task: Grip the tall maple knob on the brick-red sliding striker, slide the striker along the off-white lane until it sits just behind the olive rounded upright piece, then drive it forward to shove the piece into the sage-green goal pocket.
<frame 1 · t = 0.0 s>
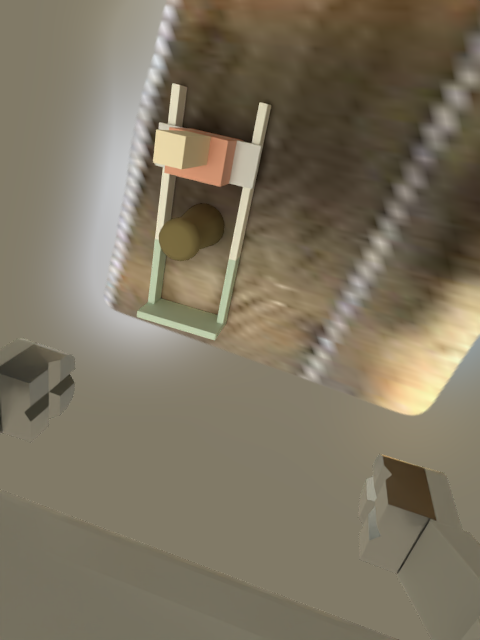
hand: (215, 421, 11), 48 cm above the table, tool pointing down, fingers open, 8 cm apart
lane: (205, 214, 58), on the table
striker: (194, 157, 47), point 8 cm above the table, slide at 0.0 cm
olive rounded upright piece: (204, 225, 59), resting in lane
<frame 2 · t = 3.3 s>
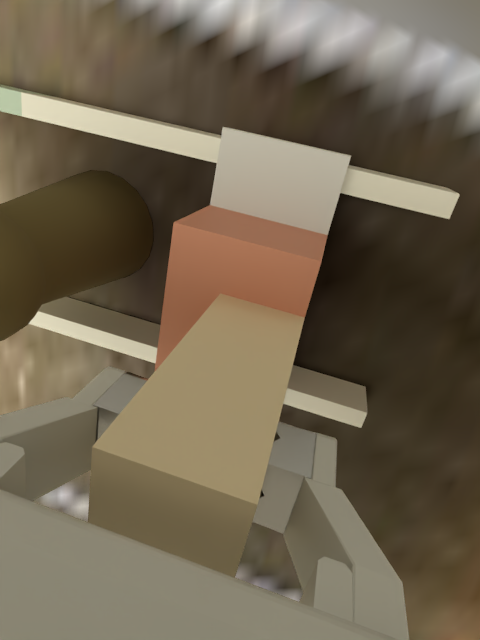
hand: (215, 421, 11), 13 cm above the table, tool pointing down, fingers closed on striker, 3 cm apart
lane: (127, 233, 23), on the table
striker: (224, 337, 15), point 8 cm above the table, slide at 0.0 cm, touching gripper
olive rounded upright piece: (105, 226, 23), resting in lane
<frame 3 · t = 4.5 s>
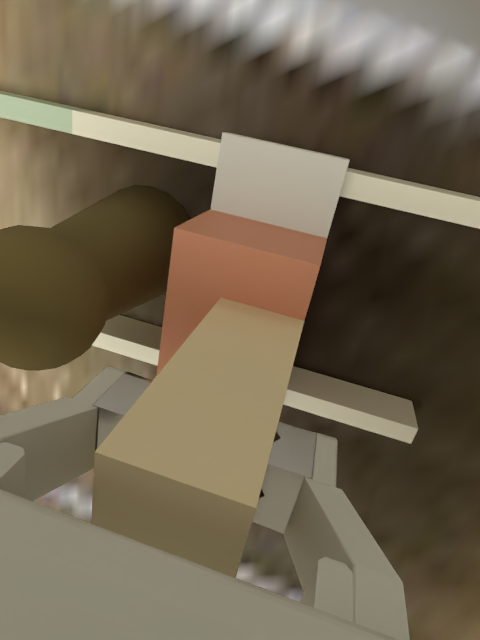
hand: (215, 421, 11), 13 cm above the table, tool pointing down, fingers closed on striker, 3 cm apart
lane: (171, 248, 23), on the table
striker: (225, 341, 15), point 8 cm above the table, slide at 2.5 cm, touching gripper
olive rounded upright piece: (148, 240, 23), resting in lane
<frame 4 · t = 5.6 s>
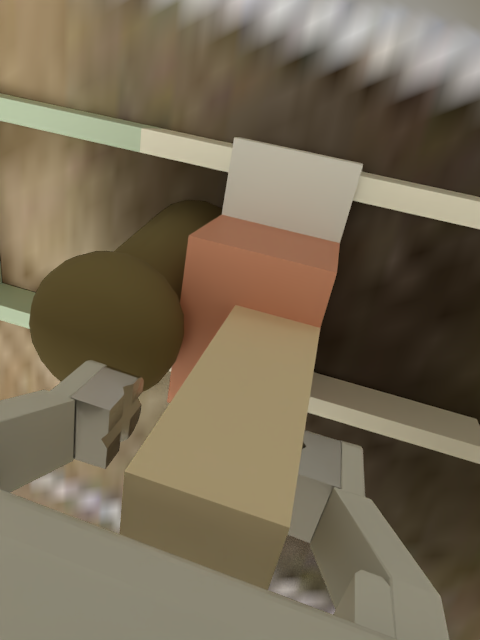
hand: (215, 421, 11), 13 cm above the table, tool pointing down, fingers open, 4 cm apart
lane: (230, 265, 22), on the table
striker: (239, 348, 15), point 8 cm above the table, slide at 5.5 cm, touching gripper, olive rounded upright piece
olive rounded upright piece: (197, 255, 23), resting in lane, touching striker
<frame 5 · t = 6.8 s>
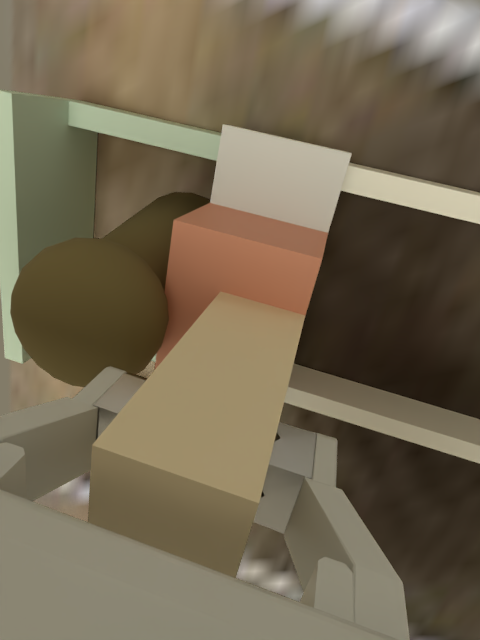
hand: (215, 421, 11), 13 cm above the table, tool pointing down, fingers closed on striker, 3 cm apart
lane: (348, 292, 21), on the table
striker: (224, 336, 15), point 8 cm above the table, slide at 12.4 cm, touching gripper, olive rounded upright piece
olive rounded upright piece: (187, 248, 23), resting in lane, touching striker
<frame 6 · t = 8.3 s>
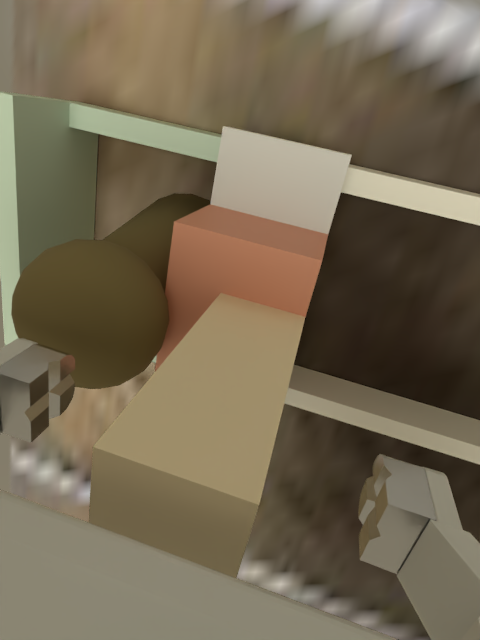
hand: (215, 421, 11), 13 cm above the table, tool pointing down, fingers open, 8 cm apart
lane: (349, 293, 21), on the table
striker: (224, 337, 15), point 8 cm above the table, slide at 12.4 cm
olive rounded upright piece: (187, 249, 23), resting in lane
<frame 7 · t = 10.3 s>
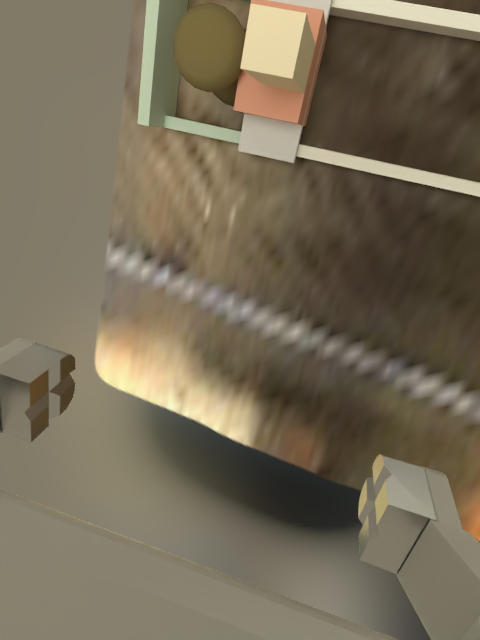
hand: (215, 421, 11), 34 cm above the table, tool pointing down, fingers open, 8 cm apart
lane: (338, 87, 36), on the table
striker: (275, 62, 29), point 8 cm above the table, slide at 12.4 cm, touching olive rounded upright piece
olive rounded upright piece: (240, 70, 38), resting in lane, touching striker
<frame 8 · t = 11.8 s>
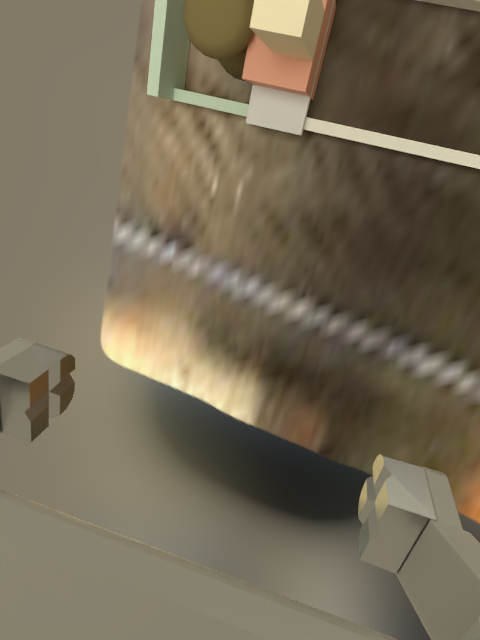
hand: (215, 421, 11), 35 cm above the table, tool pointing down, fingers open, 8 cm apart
lane: (346, 61, 36), on the table
striker: (284, 29, 30), point 8 cm above the table, slide at 12.4 cm
olive rounded upright piece: (249, 43, 38), resting in lane
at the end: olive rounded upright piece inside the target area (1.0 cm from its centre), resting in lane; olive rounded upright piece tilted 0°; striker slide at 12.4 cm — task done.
